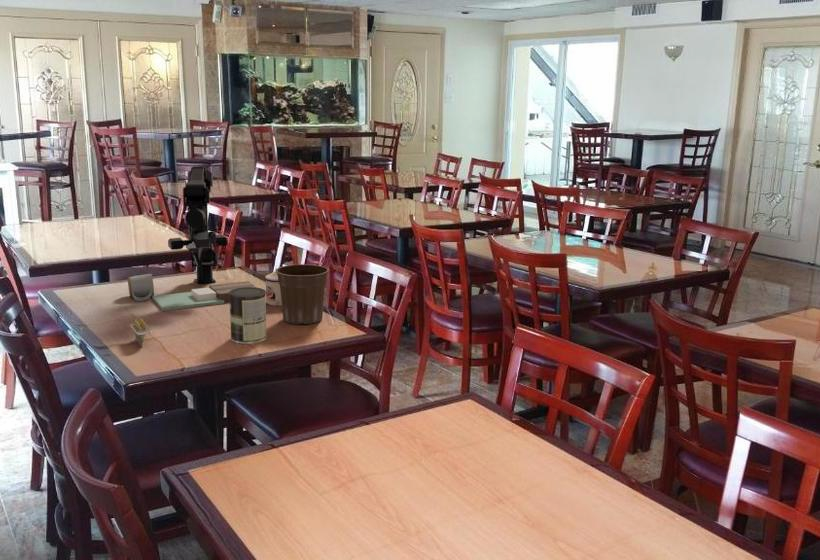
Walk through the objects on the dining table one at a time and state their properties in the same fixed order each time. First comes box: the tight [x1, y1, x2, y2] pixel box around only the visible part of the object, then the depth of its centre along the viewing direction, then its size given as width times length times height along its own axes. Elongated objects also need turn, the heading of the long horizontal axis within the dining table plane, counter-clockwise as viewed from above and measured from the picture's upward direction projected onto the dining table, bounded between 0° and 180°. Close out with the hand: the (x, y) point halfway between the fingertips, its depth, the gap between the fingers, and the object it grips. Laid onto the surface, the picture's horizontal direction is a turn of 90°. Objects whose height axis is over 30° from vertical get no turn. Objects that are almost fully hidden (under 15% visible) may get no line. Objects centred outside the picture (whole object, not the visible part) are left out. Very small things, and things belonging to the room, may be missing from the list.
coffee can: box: [229, 286, 268, 345], centre depth 223 cm, size 10×10×14 cm
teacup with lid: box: [264, 270, 282, 307], centre depth 260 cm, size 12×9×12 cm
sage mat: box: [151, 291, 225, 312], centre depth 262 cm, size 16×20×1 cm
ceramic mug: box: [127, 273, 155, 302], centre depth 264 cm, size 11×8×8 cm
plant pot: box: [275, 263, 330, 325], centre depth 242 cm, size 16×16×16 cm
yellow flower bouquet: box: [130, 318, 151, 348], centre depth 219 cm, size 12×18×7 cm, turn 30°
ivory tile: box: [190, 287, 216, 301], centre depth 263 cm, size 8×6×2 cm
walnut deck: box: [208, 280, 258, 303], centre depth 269 cm, size 13×14×3 cm
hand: (199, 266), depth 263 cm, fingers closed
